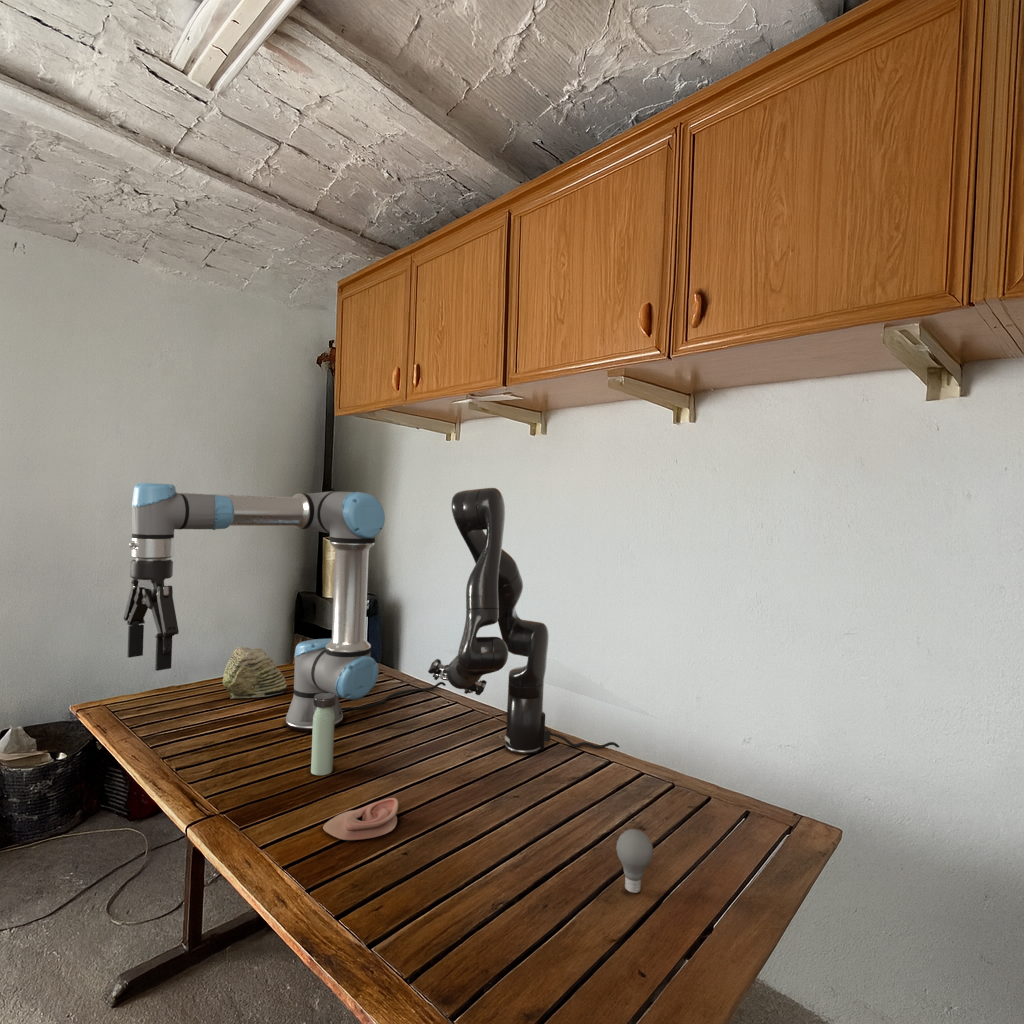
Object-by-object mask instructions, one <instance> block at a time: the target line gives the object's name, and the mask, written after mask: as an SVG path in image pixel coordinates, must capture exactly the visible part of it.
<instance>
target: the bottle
mask: <svg viewBox="0 0 1024 1024" xmlns="http://www.w3.org/2000/svg"><path fill="white" fill-rule="evenodd" d="M334 722H335V716H334V712H333V708H332V707H328V708H318V707H317V708H316V711H315V713H314V715H313V732H311V734H312V735H311V761H310V762H311V763H310V764H311V765H310V773H311V774H312V775H314V776H326V775H327V776H328V775H329V774H331V773H332V772H333V770H334V747H335V746H334V745H335V744H334V743H335V728H334Z"/></svg>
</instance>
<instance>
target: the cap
mask: <svg viewBox="0 0 1024 1024" xmlns="http://www.w3.org/2000/svg"><path fill="white" fill-rule="evenodd" d="M334 705H335V694H332V693H319V694H316V695H315V696H314V706H315V707H318V708H328V707H332V706H334Z"/></svg>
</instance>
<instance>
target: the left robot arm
mask: <svg viewBox="0 0 1024 1024" xmlns="http://www.w3.org/2000/svg"><path fill="white" fill-rule="evenodd" d="M385 515H386V513H385V511H384V508H383V505H382V503H381V502H380V501H379V500H378V498H377V497H375V495H373V494H370V493H367V492H363V491H362V492H361V491H337V490H336V491H335V490H333V491H332V490H330V491H321V492H311V493H295V494H294V495H293V496H276V495H275V496H274V495H273V496H272V495H248V494H247V495H246V494H244V495H243V494H220V493H219V494H218V493H217V494H216V493H215V494H214V493H189V492H187V493H186V492H177V491H176V486H175V485H174V484H173V483H152V482H139V483H137V484H136V485H135V486H134V488H133V492H132V501H131V520H132V521H131V542H130V543H128V547H129V548H130V549H131V550H130V556H131V558H133V559H132V560H131V561H130V567H129V568H130V571H129V574H130V575H129V576H130V578H131V581H130V590H129V594H128V598H127V603H126V607H125V610H124V615H123V621H124V622H126V624H127V626H128V629H127V630H128V631H127V658H135V657H142V656H144V635H145V634H144V630H145V625H144V624H145V623H146V621H145V619H144V618H145V616H146V615H147V612H148V609H149V610H151V613H152V618H153V620H154V624H155V627H156V631H157V633H156V635H155V636H154V638H155V661H154V663H155V665H154V668H155V669H154V670H155V671H157V672H159V671H164V670H169V669H172V659H173V657H172V655H173V637H175V636H176V635H179V632H180V631H179V625H178V619H177V615H176V614H177V613H176V609H175V603H174V597H173V595H174V593H173V585H165V580H167V579H171V578H172V577H173V575H174V573H173V572H174V561H173V560H172V559H171V558H173V557H174V554H175V553H174V552H175V530H213V531H215V530H224V529H228V528H230V526H233V527H234V526H237V527H238V526H240V527H243V526H246V527H247V526H249V527H250V526H258V527H259V526H268V527H269V526H276V527H277V526H282V527H284V526H285V527H286V526H287V527H288V526H289V527H290V526H291V527H293V528H294V529H296V530H308V531H309V530H310V531H316V532H319V533H325V534H329V544H330V545H331V546H332V547H333V548H334V550H335V551H334V572H333V573H334V577H333V599H332V625H331V626H332V627H331V638H317V639H308V640H304V641H300V642H299V643H297V645H296V646H295V650H294V655H293V657H294V672H293V673H294V674H293V695H292V696H293V697H292V699H291V702H290V704H289V708H288V711H287V713H286V715H285V726H286V728H287V729H289V730H291V731H294V732H295V731H296V732H301V733H312V732H313V715H314V713H315V711H316V708H317V707H315V706H314V696H315V695H316V694H319V693H332V694H335V705H334V706H332V708H333V712H334V716H335V722H334V729H335V728H337V727H339V726H340V725H342V723H343V722H344V714H343V711H344V712H345V711H357V710H364V709H369V708H373V707H377V706H380V705H382V704H384V703H385V702H387V700H389V699H390V698H391V699H392V698H393V697H395V696H399V695H403V694H409V693H415V692H424V691H432V690H434V689H436V688H438V687H439V686H441V685H442V686H445V687H446V686H447V684H446V683H445V682H444V681H438V682H437V683H436V684H434V685H433V686H430V687H422V688H421V687H420V688H411V689H406V690H400V691H397V692H394V693H391V694H389V695H387V696H386V697H384V698H383V699H382V700H380V701H377V702H374V703H371V704H366V705H360V706H350V707H349V706H348V707H347V706H346V707H342V706H341V702H340V699H339V698H341V699H342V700H343V699H344V700H348V701H349V700H350V701H357V700H360V699H362V698H364V697H365V696H367V695H368V694H370V692H371V690H372V689H374V687H375V685H376V683H377V682H378V678H379V674H380V672H379V671H380V670H379V669H380V668H379V665H378V663H377V662H376V660H375V659H374V657H371V652H372V649H371V648H372V644H371V643H370V642H368V640H367V639H366V631H367V607H368V606H367V605H368V604H367V602H368V582H369V581H368V579H369V555H370V553H369V552H370V550H371V548H372V547H374V545H375V544H376V536H378V535H379V534H380V533H381V530H383V528H384V526H385V522H386V521H385V520H386V516H385Z"/></svg>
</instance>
